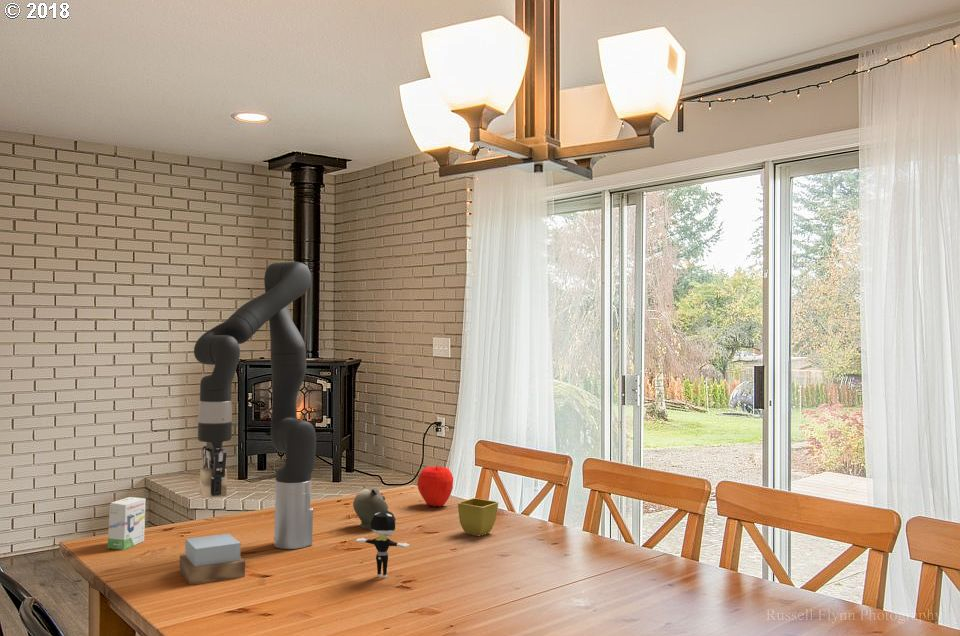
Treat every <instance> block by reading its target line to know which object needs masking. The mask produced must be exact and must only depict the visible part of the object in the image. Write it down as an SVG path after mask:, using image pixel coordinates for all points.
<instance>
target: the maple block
mask: <svg viewBox="0 0 960 636" xmlns="http://www.w3.org/2000/svg"><path fill="white" fill-rule="evenodd" d="M216 472H220V471H219V469H216ZM227 485H228V470H227V469H226V468H225V477H223V478H222V482H221V495H218V496H212V495H211V471H210V470H209V469H208V468H203V467H202V468H199V493H198V494H199V495H200V496H201V497H203V499H207V498H209V499H210V498H219V497H227V487H228V486H227Z"/></svg>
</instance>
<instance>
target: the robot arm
mask: <svg viewBox="0 0 960 636" xmlns="http://www.w3.org/2000/svg"><path fill="white" fill-rule="evenodd" d="M263 282H264V293H262V294H261V295H260V294H259V295H258V296H256V297H255V298H253V299H250V300H248V302H246V303H244V304H243V305H241V306H240V307H239V308H238V309H237V310H235V311H234V312H233V313H232V314H231V315H230V316H229V317H228V318H227V319H226V320H225V321H223V322H221V323H219V324H217V325H216V326H214V327H212V328H211V329H209V330H207V331H206V332H204V333H203V334H202V335H201V336H200V337H199V338H198V339H197V341H196V342H195V345H194V346H193V356H194V357H195V359H196V361H197V362H199V363H200V364H203V365H206V366H207V365H210V366H212V365H213V366H214V368H213V370H212V374H209V375H205V376H203V377H202V378H201V380H200V382H199V383H200V386H199V405H198V410H197V411H198V413H197V415H198V416H197V440H198V441H199V442H202V443H206V445H203V446H202V468H208V469H209V470H210V471H211V495H212V496H218V495H221V482H222V478H223V477H225V469H226V465H227V464H226V463H227V456H228V455H227V454H228V453H227V452H226V450H225V448H224V447H223V446H224V445H223V443H224V442H228V441H231V440H232V434H233V433H232V429H233V404H232V394H233V393H232V389H233V385H232V384H233V380H234V377H235V374H236V370H237V367H238V364H239V360H240V356H241V348H240V345H242V344H245V343H246V342H247V341H248V340H251V338H252V337H253V335H255V334H256V332H258V330H260V329H261V328H262V327H263V325H264V324H266V323H267V322H268V323H269V325H268V326H269V337H270V338H269V339H270V367H271V368H270V369H271V388H272V389H271V391H272V392H271V393H272V394H271V396H272V397H271V398H272V400H271V401H272V402H271V403H272V404H271V405H272V406H271V407H272V408H271V422H270V440H271V443H272V447H274V449H275V450H276V451H278V452H280V453H283V454H286V455H285V463H284V465H283V466H281V467H279V468H277V470H276V471H275V488H274V489H275V495H274V498H275V499H274V500H275V501H274V502H275V503H274V532H273V533H274V536H273V544H274V545H273V546H274V547H275V548H278V549H283V550H296V549H302V548H306V547H308V546H313V532H314V531H313V530H314V529H313V528H314V509H313V507H311V502H312V499H311V497H312V475H313V471H314V469H315V464H316V454H317V453H316V451H317V450H316V449H317V433H316V429H315V427H314V426H313V424H312V423H311V422H310V421H307V420H302V419H298V417H297V416H298V415H297V399H298V395H299V391H300V389H301V386H302V385H303V382H304V379H305V378H306V377H305V376H306V374H307V348H306V342H305V341H304V338H303V336H302V335H301V333H300V331H299V329H298V328H297V326H296V325H295V323H294V320H293V318H292V316H291V312H290V305H291V303H293V302H294V301H296V300H298V299H299V298H300V297H302V296H303V295H304V294H306V293H307V292H308V291H309V289H310V287H311V284H312V275H311V270H310V268H309V267H308V266H307V265H306V264H305V263H303V262H299V261H286V262H283V261H282V262H274V263H271V264H269V265H268V266H267V267H266V269H265V272H264V278H263ZM216 469H219V471H220V472H216Z"/></svg>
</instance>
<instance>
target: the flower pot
mask: <svg viewBox="0 0 960 636" xmlns="http://www.w3.org/2000/svg"><path fill="white" fill-rule="evenodd" d="M498 507H499V502H498V501H495V500H489V499H481V498H476V497H472V498H469V499H466V500H463V501H459V502H457V508H458V519H459V523H460V526H461V528H462V530H463V532H464V533H465V534H466V533H469V534H468V535H471V534H474V535H473V536H476V535H482V536H484V535H483V534H485V533H487V534H489V533H490V532H491V530H492V529H493V527H494V525H495V522H496V519H497V514H498V509H499V508H498ZM488 532H489V533H488ZM485 535H486V534H485Z"/></svg>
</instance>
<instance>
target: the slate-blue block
mask: <svg viewBox="0 0 960 636" xmlns="http://www.w3.org/2000/svg"><path fill="white" fill-rule="evenodd" d="M241 546H242V545H241V542H240V541H239V540H237V538H235V537H234V536H233V535H231V534H230V533H222V534H212V535H205V536H197V537H188V538H185V554H184V555H185V556H186V557H187V558H188V560H189V561H190V562H191V563H192V564H193V565H194V566H195V567H198V566H205V565H212V564H219V563H226V562H233V561H240V557H241V549H242V547H241Z"/></svg>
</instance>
